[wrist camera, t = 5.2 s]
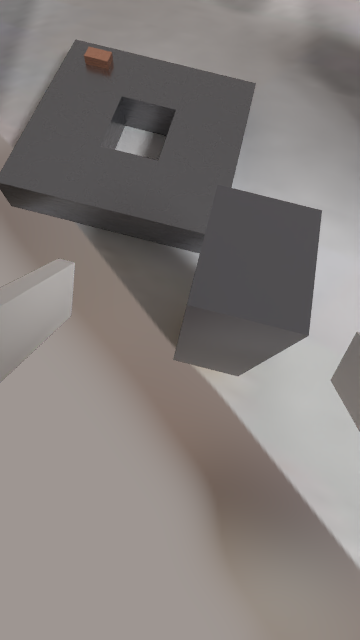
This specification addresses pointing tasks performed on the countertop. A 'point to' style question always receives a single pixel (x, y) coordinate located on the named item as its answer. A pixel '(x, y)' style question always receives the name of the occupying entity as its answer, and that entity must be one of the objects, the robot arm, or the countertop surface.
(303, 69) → the countertop surface
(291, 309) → the plug
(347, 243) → the countertop surface
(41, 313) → the robot arm
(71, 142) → the socket plate
